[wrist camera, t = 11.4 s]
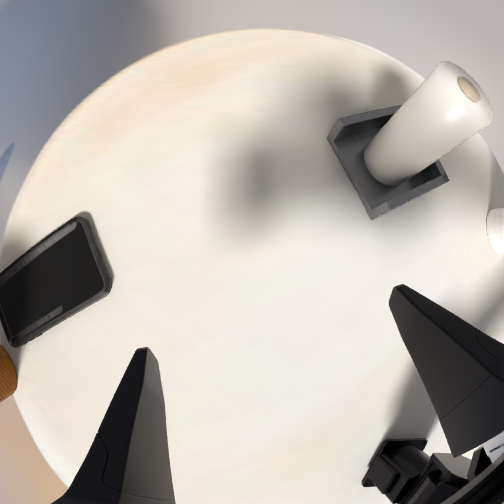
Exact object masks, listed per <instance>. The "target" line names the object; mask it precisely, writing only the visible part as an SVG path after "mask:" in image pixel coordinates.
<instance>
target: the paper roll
mask: <svg viewBox="0 0 504 504" xmlns="http://www.w3.org/2000/svg"><path fill="white" fill-rule="evenodd" d="M492 121H493V111H492V108H491V105H490V103H489V100H488V98H487V97H486V95H485V93H484V92H483V90H482V89H481V87H480V86H479V85H478V83H477V82H476V81H475V80H474V79H473V78H472V77H471V76H470V75H469V74H468V73H467V72H466V71H465V70H463V69H462V68H461V67H459V66H457V65H456V64H453V63H451V62H449V61H442V62H440V64H439V65H438V66H437V67H436V68H435V69H434V70H433V71H432V73H431V74H430V75H429V76H428V77H427V78H426V79H425V81H424V82H423V83H422V84H421V85H420V86H419V87H418V88H417V90H416V91H415V92H414V93H413V94H412V95H411V96H410V97H409V98H408V100H407V101H406V102H405V103H404V104H403V105H402V106H401V107H400V109H399V110H398V111H397V112H396V113H395V114H394V115H393V116H392V117H391V119H390V120H389V121H388V122H387V123H386V124H385V125H384V126H383V127H382V129H381V130H380V131H379V132H378V133H377V134H376V135H375V136H374V137H373V138H372V140H371V141H370V142H369V143H368V144H367V145H366V147H365V150H364V160H365V164H366V166H367V168H368V170H369V172H370V173H371V175H372V176H373V177H374V178H375V179H376V180H378V181H379V182H381V183H382V184H384V185H387V186H398V185H400V184H402V183H404V182H405V181H407V180H408V179H410V178H411V177H413V176H414V175H416V174H417V173H419V172H420V171H422V170H423V169H425V168H426V167H428V166H429V165H431V164H432V163H433V162H435V161H436V160H438V159H439V158H441V157H442V156H444V155H445V154H447V153H448V152H450V151H451V150H453V149H454V148H456V147H457V146H458V145H460V144H461V143H463V142H464V141H466V140H467V139H469V138H470V137H471V136H473V135H474V134H476V133H477V132H479V131H480V130H482V129H483V128H484V127H486V126H487V125H489V124H490V123H491V122H492Z"/></svg>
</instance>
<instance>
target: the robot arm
mask: <svg viewBox="0 0 504 504" xmlns="http://www.w3.org/2000/svg"><path fill="white" fill-rule="evenodd" d="M389 307H390V310H391V312H392V314H393V317H394V319H395V322H396V324H397V327H398V330H399V332H400V335H401V337H402V339H403V341H404V344H405V346H406V348H407V350H408V352H409V354H410V356H411V358H412V360H413V362H414V364H415V366H416V368H417V370H418V372H419V374H420V377H421V379H422V381H423V383H424V385H425V388H426V390H427V392H428V394H429V397H430V399H431V401H432V404H433V406H434V408H435V411H436V413H437V416H438V418H439V421H440V423H441V426H442V429H443V431H444V434H445V436H446V439H447V442H448V444H449V447H450V450H451V453H452V454H448V453H433V454H432V456H431V457H430V456H429V455H427V454H426V453H424V452H423V450H424V448H425V446H426V444H427V439H425V438H420V439H388V440H386V441H385V442H384V443H383V445H382V447H381V449H380V451H379V453H378V455H377V457H376V459H375V461H374V462H373V464H372V466H371V468H370V470H369V471H368V473H367V475H366V477H365V478H364V480H363V482H362V486H363V487H374V486H376V487H377V488H378V489H379V491H380V492H381V493H382V494H385V495H386V496H387V498H388V499H389V500H390V501H391V502H392V503H393V504H396V503H397V504H504V344H502V343H501V342H499V341H497V340H495V339H493V338H492V337H490V336H488V335H487V334H485V333H483V332H482V331H480V330H478V329H477V328H475V327H474V326H472V325H471V324H469V323H467V322H466V321H464V320H463V319H461V318H459V317H458V316H456V315H455V314H453V313H451V312H450V311H448V310H446V309H445V308H443V307H441V306H440V305H438V304H436V303H435V302H433V301H431V300H430V299H428V298H426V297H425V296H423V295H421V294H420V293H418V292H416V291H415V290H413V289H411V288H409V287H408V286H406V285H404V284H401V285H398V286H395V287H394V288H393V290H392V293H391V296H390V299H389ZM388 443H389V444H388ZM387 444H388V445H387ZM481 444H482V446H481V447H479V448H478V449H477V450H476V451H474V453H473V457H472V460H470V459H468V458H466V457H464V456H462V454H464V453H466V452H468V451H470V450H472V449H474V448H476V447H478V446H479V445H481ZM52 504H176V503H175V497H174V490H173V483H172V476H171V468H170V460H169V450H168V440H167V428H166V415H165V402H164V396H163V390H162V384H161V378H160V371H159V364H158V361H157V359H156V357H155V356H154V354H153V353H152V351H151V350H150V349H149V348H148V347H144V348H138V349H137V350H136V351H135V353H134V355H133V357H132V359H131V361H130V363H129V365H128V367H127V369H126V371H125V373H124V376H123V378H122V380H121V382H120V384H119V386H118V388H117V390H116V392H115V394H114V397H113V399H112V401H111V403H110V405H109V407H108V410H107V412H106V414H105V416H104V418H103V421H102V423H101V425H100V427H99V430H98V433H97V434H96V436H95V439H94V441H93V443H92V445H91V448H90V450H89V452H88V454H87V456H86V458H85V460H84V462H83V464H82V465H81V467H80V469H79V471H78V473H77V474H76V476H75V478H74V480H73V482H72V484H71V486H70V487H69V489H68V490H67V492H66V493H65V494H64V495H63V496H62V497H60V498H59V499H57V500H56V501H54V502H53V503H52Z"/></svg>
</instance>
